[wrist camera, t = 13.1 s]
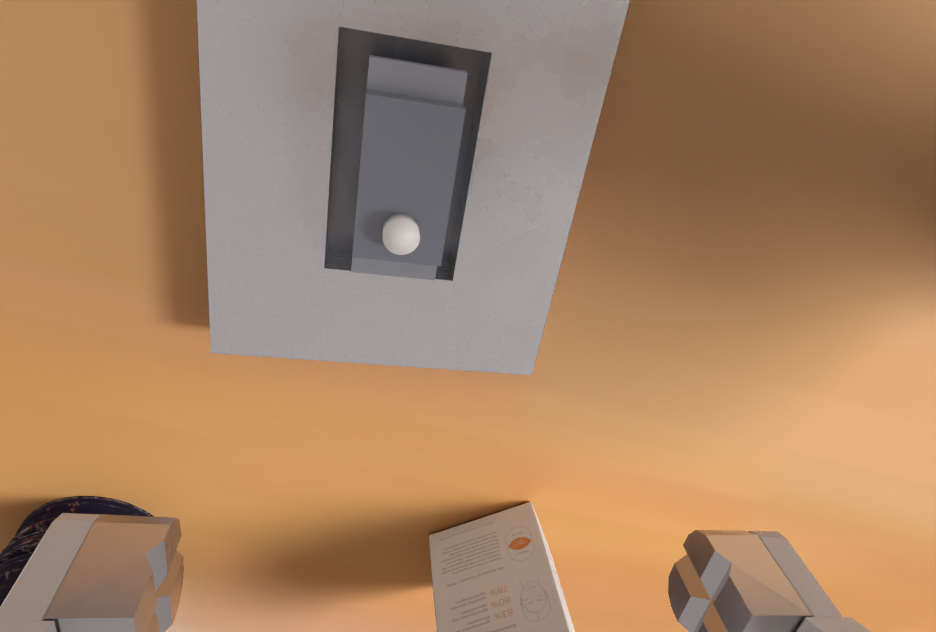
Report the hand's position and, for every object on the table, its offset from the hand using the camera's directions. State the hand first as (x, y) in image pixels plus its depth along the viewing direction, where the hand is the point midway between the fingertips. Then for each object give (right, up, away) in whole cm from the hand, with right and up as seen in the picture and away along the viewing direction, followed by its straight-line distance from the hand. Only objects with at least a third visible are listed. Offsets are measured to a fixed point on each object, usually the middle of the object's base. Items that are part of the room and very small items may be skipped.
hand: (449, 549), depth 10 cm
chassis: (-3, +12, +21) cm, 24 cm away
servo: (-3, +12, +20) cm, 24 cm away
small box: (+2, -13, +36) cm, 38 cm away
